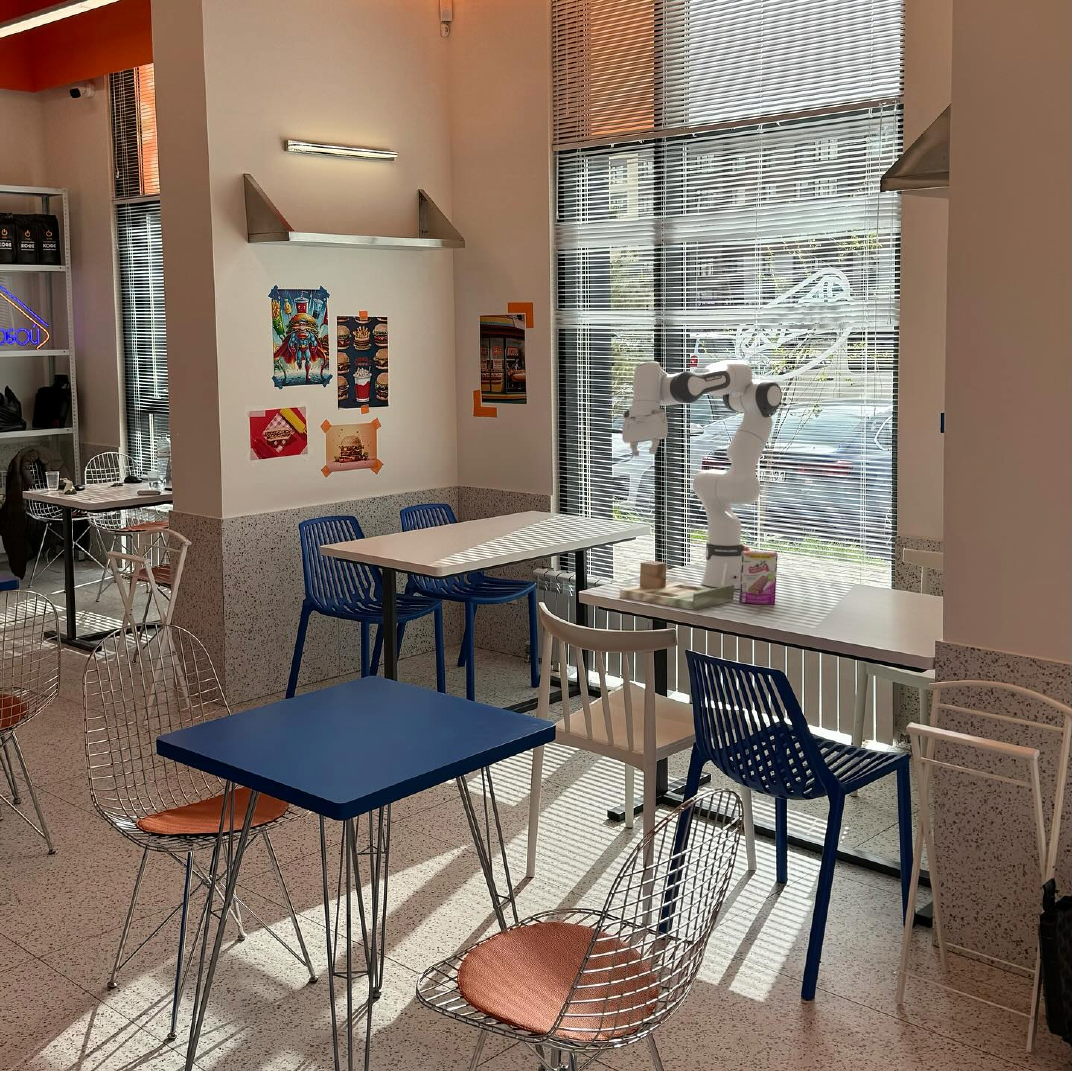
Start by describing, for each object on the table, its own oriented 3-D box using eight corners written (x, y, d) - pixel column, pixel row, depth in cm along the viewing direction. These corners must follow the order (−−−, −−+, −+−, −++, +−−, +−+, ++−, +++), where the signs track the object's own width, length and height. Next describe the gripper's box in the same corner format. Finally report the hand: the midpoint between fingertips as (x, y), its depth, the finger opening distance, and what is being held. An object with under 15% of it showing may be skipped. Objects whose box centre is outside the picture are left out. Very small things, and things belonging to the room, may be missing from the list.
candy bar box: (739, 604, 394) (741, 552, 391) (738, 601, 399) (740, 550, 396) (775, 605, 393) (778, 553, 390) (774, 602, 397) (776, 551, 395)
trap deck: (619, 597, 402) (620, 581, 401) (659, 588, 418) (659, 573, 417) (695, 610, 383) (696, 594, 382) (733, 600, 399) (734, 584, 399)
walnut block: (650, 584, 410) (651, 560, 409) (665, 587, 407) (666, 562, 405) (639, 587, 406) (640, 562, 405) (654, 589, 402) (655, 565, 401)
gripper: (673, 409, 389) (671, 453, 388) (635, 416, 407) (633, 458, 406) (657, 406, 386) (655, 451, 385) (619, 414, 403) (617, 456, 403)
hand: (644, 455), depth 396 cm, fingers open, 8 cm apart
